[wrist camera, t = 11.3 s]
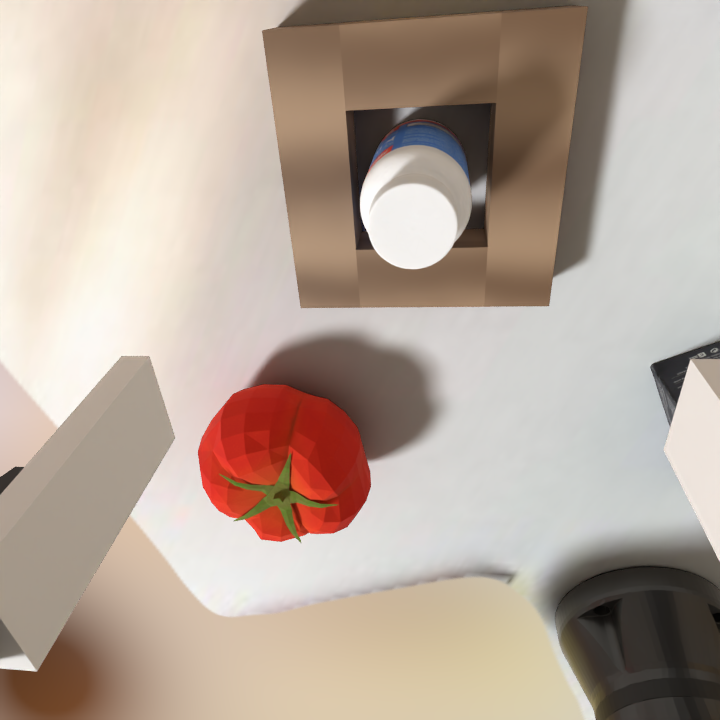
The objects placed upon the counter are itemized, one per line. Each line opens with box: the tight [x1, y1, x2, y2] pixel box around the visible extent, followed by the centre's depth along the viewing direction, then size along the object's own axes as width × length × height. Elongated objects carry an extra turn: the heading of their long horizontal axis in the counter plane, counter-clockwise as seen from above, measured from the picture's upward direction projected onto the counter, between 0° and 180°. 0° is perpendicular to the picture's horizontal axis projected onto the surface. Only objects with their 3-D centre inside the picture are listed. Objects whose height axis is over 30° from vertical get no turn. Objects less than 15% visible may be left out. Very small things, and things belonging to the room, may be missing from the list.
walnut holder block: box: [262, 5, 588, 308], centre depth 31 cm, size 15×15×3 cm
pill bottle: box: [360, 119, 472, 269], centre depth 28 cm, size 6×5×10 cm
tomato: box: [198, 384, 371, 543], centre depth 41 cm, size 13×12×8 cm
